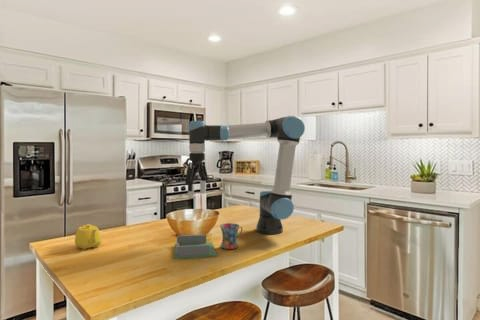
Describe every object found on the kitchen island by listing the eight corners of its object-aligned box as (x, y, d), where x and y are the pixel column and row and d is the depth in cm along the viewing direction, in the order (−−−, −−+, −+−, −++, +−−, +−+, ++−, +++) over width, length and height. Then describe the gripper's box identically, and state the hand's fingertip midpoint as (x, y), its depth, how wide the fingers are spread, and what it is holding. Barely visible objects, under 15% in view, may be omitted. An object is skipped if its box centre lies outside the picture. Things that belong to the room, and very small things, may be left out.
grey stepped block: (212, 243, 160) (212, 233, 160) (216, 256, 142) (216, 245, 142) (174, 245, 157) (174, 235, 156) (174, 258, 139) (174, 247, 139)
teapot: (107, 249, 150) (107, 226, 149) (82, 255, 143) (81, 231, 142) (94, 240, 163) (94, 219, 163) (70, 245, 156) (70, 223, 155)
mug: (226, 252, 148) (227, 229, 148) (216, 246, 156) (216, 224, 155) (247, 247, 156) (247, 225, 155) (236, 242, 163) (236, 221, 162)
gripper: (200, 151, 171) (201, 191, 173) (177, 153, 148) (178, 199, 149) (214, 151, 169) (214, 192, 170) (192, 153, 145) (192, 200, 147)
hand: (197, 195), depth 160 cm, fingers open, 13 cm apart
